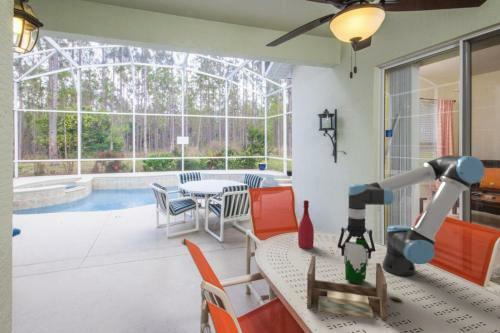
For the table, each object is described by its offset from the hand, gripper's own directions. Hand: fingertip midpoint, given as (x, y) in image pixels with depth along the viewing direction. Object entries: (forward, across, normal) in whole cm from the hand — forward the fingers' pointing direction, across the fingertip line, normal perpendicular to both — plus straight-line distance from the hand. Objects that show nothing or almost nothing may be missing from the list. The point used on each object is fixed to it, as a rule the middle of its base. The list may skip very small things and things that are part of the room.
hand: (355, 263), depth 133 cm
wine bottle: (+9, -28, +40) cm, 50 cm away
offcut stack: (+9, -5, -27) cm, 29 cm away
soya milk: (+8, 0, 0) cm, 8 cm away
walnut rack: (+8, -5, -21) cm, 23 cm away
